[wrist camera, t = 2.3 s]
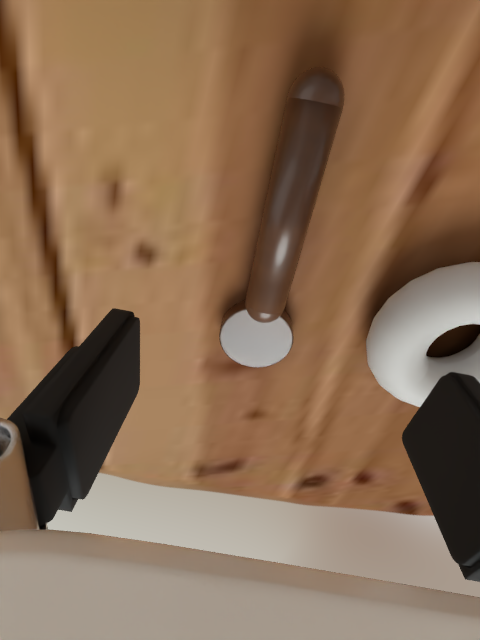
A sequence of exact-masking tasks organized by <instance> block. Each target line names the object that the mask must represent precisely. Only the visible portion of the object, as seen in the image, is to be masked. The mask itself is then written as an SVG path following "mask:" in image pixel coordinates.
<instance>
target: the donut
mask: <svg viewBox="0 0 480 640" xmlns="http://www.w3.org/2000/svg"><path fill="white" fill-rule="evenodd" d="M468 324H479V325H480V262H468V263H463V264H458V265H452V266H447V267H442V268H438V269H435V270H433V271H431V272H429V273H427V274H424V275H422V276H420V277H418V278H416V279H413V280H411V281H410V282H408V283H407V284H406V285H405V286H403V287H402V288H401V289H400V290H398V291H397V292H396V293H394V294H393V295H392V296H391V297H389V298H388V300H387V301H386V302H385V304H384V305H383V306H382V308H381V309H380V310H379V312H378V313H377V314H376V316H375V317H374V319H373V321H372V324H371V327H370V330H369V333H368V336H367V339H366V348H367V360H368V365H369V367H370V369H371V371H372V373H373V374H374V376H375V378H376V380H377V381H378V383H379V384H380V386H382V387H383V388H384V389H385V390H387V391H388V392H389V393H391V394H392V395H393V396H395V397H396V398H398V399H399V400H401V401H404V402H407V403H409V404H412V405H415V406H418V407H421V405H422V404H423V402H424V401H425V399H426V398H427V396H428V395H429V394H430V392H431V391H432V389H433V388H434V386H435V385H436V383H437V382H438V380H439V379H440V378H441V377H442V376H444V375H446V374H448V373H450V372H456V373H461V374H467V375H471V376H474V377H475V378H476V379H477V380H478V381H479V383H480V334H479V335H478V337H477V339H476V340H475V341H474V342H473V343H472V344H471V345H470V346H469V347H467V348H466V349H464V350H462V351H461V352H459V353H456V354H454V355H451V356H448V357H441V358H435V357H428V356H426V352H427V350H428V348H429V346H430V345H431V344H432V342H433V341H434V340H435V339H436V338H437V337H439V336H440V335H442V334H443V333H445V332H446V331H448V330H450V329H453V328H456V327H458V326H462V325H468Z"/></svg>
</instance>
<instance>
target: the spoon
mask: <svg viewBox="0 0 480 640" xmlns="http://www.w3.org/2000/svg"><path fill="white" fill-rule="evenodd" d="M343 105H344V89H343V85H342V83H341V81H340V79H339V77H338V76H337V75H336V74H335V73H334V72H333V71H331V70H330V69H328V68H324V67H315V68H311V69H308V70H306V71H305V72H303V73H302V74H300V75H299V76H298V77H297V78H296V80H295V81H294V82H293V84H292V86H291V88H290V90H289V93H288V96H287V101H286V106H285V110H284V115H283V120H282V125H281V130H280V135H279V139H278V144H277V149H276V154H275V159H274V164H273V168H272V173H271V178H270V183H269V188H268V193H267V198H266V202H265V207H264V212H263V217H262V222H261V227H260V231H259V236H258V241H257V246H256V251H255V256H254V260H253V265H252V270H251V275H250V280H249V285H248V289H247V294H246V299H245V301H242V302H240V303H238V304H236V305H234V306H233V307H231V308H230V309H229V310H228V311H227V313H226V314H225V316H224V318H223V321H222V325H221V329H220V335H219V337H220V343H221V346H222V348H223V350H224V352H225V353H226V354H227V355H228V356H229V357H230V358H231V359H232V360H234V361H235V362H237V363H239V364H242V365H244V366H248V367H266V366H270V365H273V364H275V363H277V362H279V361H281V360H282V359H283V358H284V357H285V356H286V355H287V354H288V353H289V351H290V349H291V347H292V344H293V329H292V323H291V320H290V318H289V316H288V314H287V313H286V312H285V311H284V309H285V305H286V302H287V298H288V295H289V291H290V288H291V284H292V281H293V278H294V274H295V271H296V267H297V264H298V260H299V257H300V253H301V250H302V247H303V243H304V240H305V236H306V233H307V229H308V226H309V223H310V219H311V216H312V212H313V209H314V205H315V202H316V198H317V195H318V192H319V188H320V185H321V181H322V178H323V174H324V171H325V168H326V164H327V161H328V157H329V154H330V150H331V147H332V143H333V140H334V137H335V133H336V130H337V126H338V123H339V119H340V116H341V113H342V109H343Z"/></svg>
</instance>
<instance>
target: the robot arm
mask: <svg viewBox="0 0 480 640" xmlns="http://www.w3.org/2000/svg"><path fill="white" fill-rule="evenodd" d="M139 385H140V320H139V318H136V317H134V313H133V312H131V311H125V310H120V309H112V310H111V311H110V312H109V313H108V314H107V315H106V316H105V318H104V319H103V320H102V321H101V322H100V323H99V325H98V326H97V327H96V328H95V329H94V330H93V331H92V333H91V334H90V335H89V336H88V337H87V338H86V339H85V341H84V342H83V343H82V344H81V345H80V346H79V347H77V346H76V347H73V348H71V349H70V350H69V351H68V352H67V353H66V354H65V355H64V357H63V358H62V359H61V360H60V361H59V362H58V363H57V364H56V365H55V367H54V368H53V369H52V370H51V371H50V372H49V373H48V374H47V375H46V377H45V378H44V379H43V380H42V381H41V382H40V383H39V384H38V385H37V387H36V388H35V389H34V390H33V391H32V392H31V393H30V394H29V395H28V397H27V398H26V399H25V400H24V401H23V402H22V403H21V404H20V405H19V407H18V408H17V409H16V410H15V411H14V412H13V413H12V414H11V416H10V417H9V418H8V419H7V420H6V419H3V418H0V640H480V598H479V597H474V596H469V595H463V594H457V593H452V592H445V591H440V590H434V589H428V588H423V587H417V586H411V585H406V584H399V583H394V582H388V581H382V580H376V579H370V578H365V577H359V576H353V575H347V574H341V573H335V572H329V571H323V570H317V569H311V568H306V567H300V566H294V565H288V564H282V563H276V562H270V561H263V560H257V559H252V558H245V557H239V556H233V555H227V554H221V553H215V552H209V551H203V550H197V549H191V548H185V547H179V546H172V545H167V544H160V543H153V542H146V541H139V540H132V539H125V538H118V537H111V536H104V535H98V534H91V533H80V532H68V531H58V530H48V527H47V522H49V521H51V520H52V519H53V518H54V516H55V514H56V512H57V510H65V511H71V512H72V510H73V508H74V506H75V504H76V502H77V500H78V499H84V498H85V497H86V496H87V494H88V493H89V490H90V489H91V487H92V484H93V482H94V480H95V478H96V476H97V474H98V472H99V470H100V468H101V466H102V464H103V462H104V460H105V458H106V456H107V454H108V452H109V450H110V448H111V446H112V444H113V442H114V440H115V438H116V436H117V434H118V432H119V430H120V428H121V426H122V424H123V422H124V420H125V418H126V416H127V414H128V412H129V410H130V408H131V406H132V404H133V402H134V400H135V398H136V396H137V393H138V390H139ZM402 441H403V444H404V447H405V449H406V451H407V454H408V456H409V458H410V461H411V463H412V465H413V468H414V470H415V472H416V475H417V477H418V479H419V482H420V484H421V486H422V489H423V491H424V493H425V496H426V498H427V500H428V503H429V505H430V507H431V510H432V512H433V514H434V517H435V519H436V521H437V523H438V526H439V528H440V531H441V533H442V535H443V538H444V540H445V542H446V545H447V547H448V549H449V551H450V554H451V556H452V558H453V559H454V561H455V562H456V563H458V564H459V566H460V569H461V571H462V573H463V576H464V577H465V579H467V580H473V581H479V582H480V383H479V381H478V380H477V379H476V378H475V377H474V376H471V375H467V374H461V373H456V372H450V373H448V374H446V375H444V376H442V377H441V378H440V379H439V380H438V382H437V383H436V385H435V386H434V388H433V389H432V391H431V392H430V394H429V395H428V396H427V398H426V399H425V401H424V402H423V404H422V405H421V407H420V408H419V410H418V411H417V412H416V414H415V415H414V417H413V418H412V420H411V421H410V423H409V424H408V426H407V427H406V428H405V430H404V432H403V435H402Z"/></svg>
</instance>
